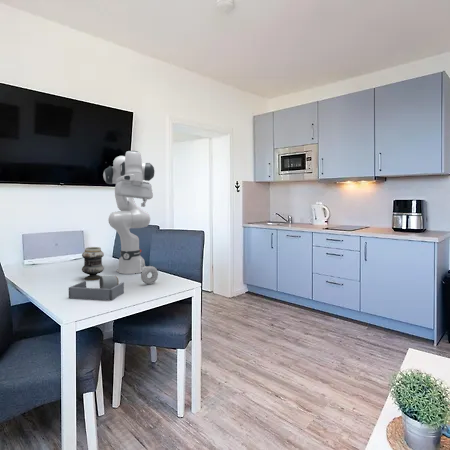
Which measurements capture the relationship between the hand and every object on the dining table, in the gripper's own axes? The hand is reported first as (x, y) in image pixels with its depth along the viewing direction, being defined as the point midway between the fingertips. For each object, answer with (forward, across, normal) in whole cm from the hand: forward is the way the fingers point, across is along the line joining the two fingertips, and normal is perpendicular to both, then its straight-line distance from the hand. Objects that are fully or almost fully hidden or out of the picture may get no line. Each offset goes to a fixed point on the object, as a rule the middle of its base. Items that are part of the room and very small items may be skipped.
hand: (135, 205), depth 169 cm
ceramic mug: (+42, +9, -15) cm, 45 cm away
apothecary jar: (+35, +5, -42) cm, 55 cm away
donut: (+41, -12, -9) cm, 44 cm away
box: (+44, +17, -9) cm, 48 cm away
